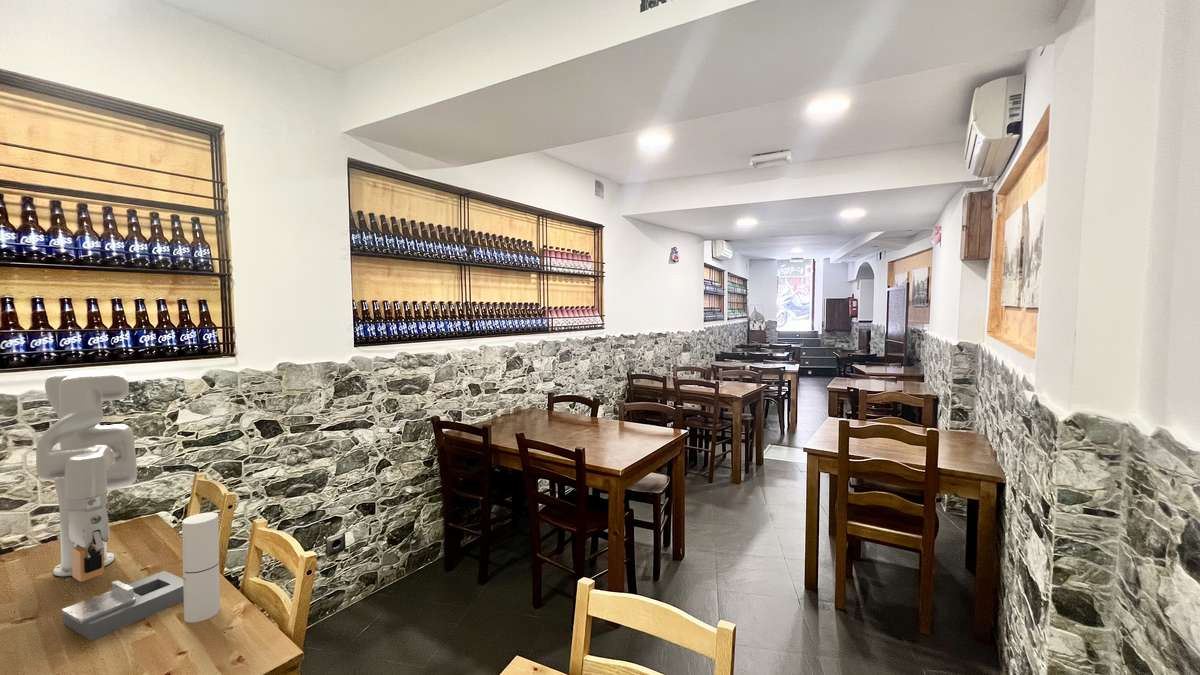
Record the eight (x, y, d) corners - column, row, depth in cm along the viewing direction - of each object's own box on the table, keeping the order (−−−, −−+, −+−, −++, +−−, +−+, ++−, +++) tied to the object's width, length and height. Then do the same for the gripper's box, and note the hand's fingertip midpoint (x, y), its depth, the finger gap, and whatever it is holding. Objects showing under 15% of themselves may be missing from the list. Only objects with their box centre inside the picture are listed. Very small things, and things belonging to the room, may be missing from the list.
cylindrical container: (199, 624, 121) (197, 525, 120) (176, 620, 122) (174, 522, 121) (227, 607, 128) (225, 513, 127) (204, 604, 129) (203, 511, 128)
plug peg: (72, 576, 129) (71, 547, 128) (96, 568, 133) (95, 540, 132) (80, 581, 127) (80, 552, 126) (104, 573, 131) (103, 544, 130)
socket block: (64, 624, 120) (63, 608, 120) (164, 584, 138) (163, 570, 138) (91, 640, 114) (91, 624, 114) (191, 596, 132) (191, 582, 132)
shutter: (61, 612, 118) (61, 599, 118) (115, 591, 127) (115, 579, 127) (80, 624, 114) (80, 610, 114) (135, 601, 123) (135, 588, 123)
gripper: (121, 503, 128) (122, 569, 130) (90, 489, 135) (92, 552, 137) (82, 514, 121) (84, 584, 123) (52, 499, 128) (54, 565, 130)
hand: (88, 566), depth 130 cm, fingers closed on plug peg, 4 cm apart
